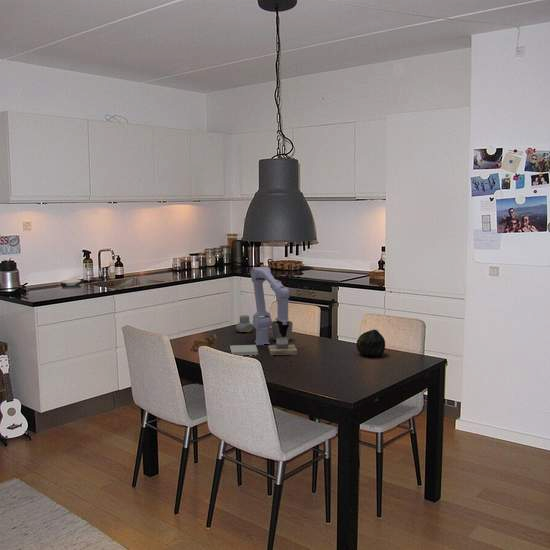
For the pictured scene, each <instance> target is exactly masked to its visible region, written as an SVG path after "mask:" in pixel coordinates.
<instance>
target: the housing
mask: <svg viewBox="0 0 550 550" xmlns="http://www.w3.org/2000/svg"><path fill="white" fill-rule="evenodd" d="M288 344H289V340H288V338H276V341H275V345H276V348H277V349H288Z"/></svg>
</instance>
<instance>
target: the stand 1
mask: <svg viewBox="0 0 550 550" xmlns="http://www.w3.org/2000/svg"><path fill="white" fill-rule="evenodd" d="M229 347H230V348H229V351H230V350H231V352H230V354H231V353H232V354H237V355H241V356H243V355H249V356H248V357H253V356H252V355H255V356H254V357H257V356H256V355H258V356H259V351H258V348H257V345H256V344H243V345H242V344H241V345H239V344H238V345H236V344H234V345H230V346H229ZM243 357H244V356H243Z"/></svg>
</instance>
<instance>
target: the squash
mask: <svg viewBox="0 0 550 550" xmlns="http://www.w3.org/2000/svg"><path fill="white" fill-rule="evenodd" d="M356 350H357V351H358V353H359V354H360V355H362V356H369V357H370V356H371V357H374V356H377V357H379V355H380V356H381V355H383V354H384V352H385V351H386V340H385V338H384V336H383V335H382V334H381V333H380V332H379V331H378V329H370V330H368V331H365V332H363V333H362V334H360V335H359V337H358V339H357V341H356Z"/></svg>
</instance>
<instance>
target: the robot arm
mask: <svg viewBox="0 0 550 550" xmlns="http://www.w3.org/2000/svg"><path fill="white" fill-rule="evenodd" d="M250 277H251V282H252V283H253V291H254V297H255V307H256V312H255V313H254V314H253V316H252V325H253V328H254V329H255V337H256V338H255V340H254V344H255V343H256V344H255V345H256V346H265V345H264V344H270V345H271V343H270V339H269V338H270V336H269V335H270V333H269V332H270V331H269V330H270V329H271V325H272V321H273V320H272V316H271V313H269V312H268V311H267V310H266V309H267V307H266V302H265V301H266V300H265V292H264V286H263V284H264V282H265V281H266V282H268V283H269V285H270V286H269V287H270V289H271V290H272V291H273V292H274V293H275V298H276V302H277V317H275V320H274V321H277V323H278V327H279V332H280V334H281V336H282V337H286V333H287V329H288V327H289V324H286V322H287V321H289V299H290V297H291V290H290V288H289V287H286V286H284V285H283V284H282V282H280V280H279V279H276V278H275V277H274V275H273V274H272V271H271V268H270V267H269V266H260V267H259V266H257V267H256V266H254V267H251V270H250Z"/></svg>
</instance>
